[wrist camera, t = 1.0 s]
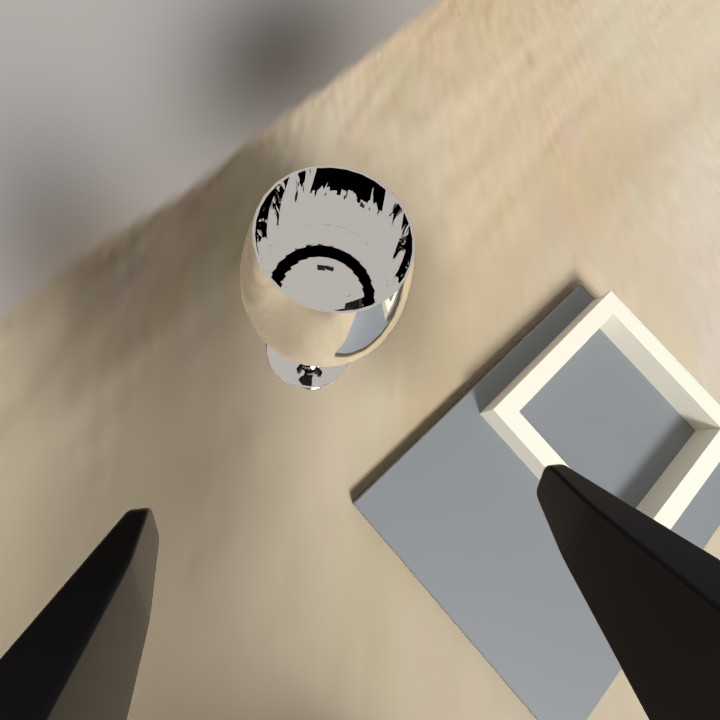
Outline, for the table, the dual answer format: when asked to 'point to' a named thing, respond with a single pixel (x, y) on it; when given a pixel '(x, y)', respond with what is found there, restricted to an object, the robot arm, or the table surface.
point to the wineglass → (325, 271)
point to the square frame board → (520, 481)
